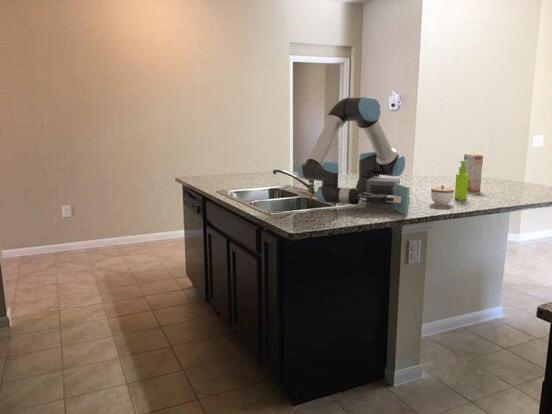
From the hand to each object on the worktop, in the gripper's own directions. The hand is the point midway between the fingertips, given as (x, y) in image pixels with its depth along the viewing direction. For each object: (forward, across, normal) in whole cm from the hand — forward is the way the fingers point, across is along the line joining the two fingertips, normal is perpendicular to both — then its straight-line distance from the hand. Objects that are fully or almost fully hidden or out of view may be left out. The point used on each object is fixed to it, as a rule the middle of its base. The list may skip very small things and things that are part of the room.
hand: (401, 199), depth 211 cm
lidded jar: (+15, -31, -6) cm, 35 cm away
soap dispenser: (+24, -52, -6) cm, 58 cm away
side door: (0, -4, -6) cm, 7 cm away
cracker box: (+28, -88, -6) cm, 92 cm away
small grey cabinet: (-10, -16, -6) cm, 20 cm away
